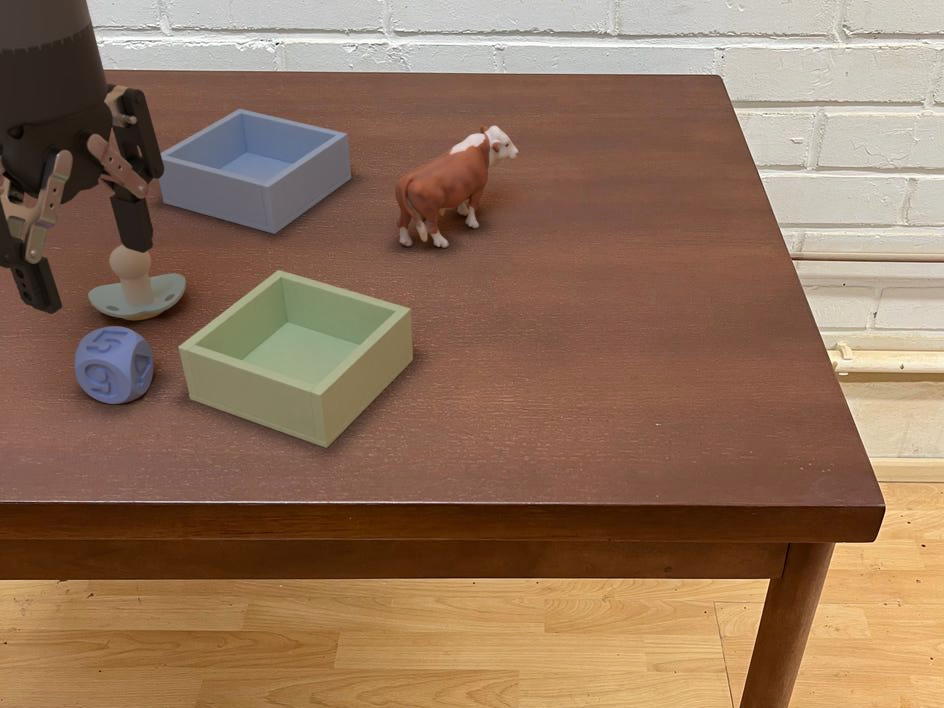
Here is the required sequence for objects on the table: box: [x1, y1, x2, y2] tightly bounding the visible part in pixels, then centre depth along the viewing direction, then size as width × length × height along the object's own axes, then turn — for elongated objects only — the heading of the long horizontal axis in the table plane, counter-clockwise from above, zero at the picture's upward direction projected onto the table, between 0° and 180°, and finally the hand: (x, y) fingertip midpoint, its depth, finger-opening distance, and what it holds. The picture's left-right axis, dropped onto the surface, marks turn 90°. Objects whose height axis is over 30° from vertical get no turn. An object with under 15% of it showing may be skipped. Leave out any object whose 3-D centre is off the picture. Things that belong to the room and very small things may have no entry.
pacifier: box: [87, 244, 187, 321], centre depth 78 cm, size 7×6×6 cm
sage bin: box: [177, 269, 414, 449], centre depth 72 cm, size 12×12×4 cm
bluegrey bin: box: [158, 108, 352, 235], centre depth 94 cm, size 13×13×4 cm
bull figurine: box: [394, 125, 519, 249], centre depth 87 cm, size 4×13×8 cm, turn 135°
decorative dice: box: [74, 325, 155, 405], centre depth 71 cm, size 4×4×4 cm
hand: (94, 277), depth 66 cm, fingers open, 8 cm apart
